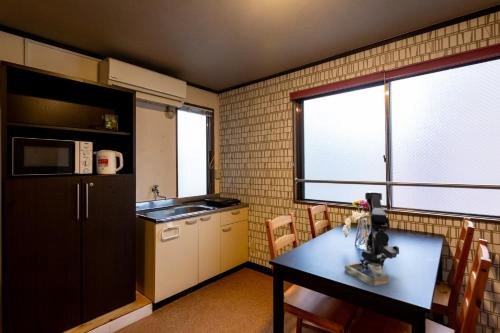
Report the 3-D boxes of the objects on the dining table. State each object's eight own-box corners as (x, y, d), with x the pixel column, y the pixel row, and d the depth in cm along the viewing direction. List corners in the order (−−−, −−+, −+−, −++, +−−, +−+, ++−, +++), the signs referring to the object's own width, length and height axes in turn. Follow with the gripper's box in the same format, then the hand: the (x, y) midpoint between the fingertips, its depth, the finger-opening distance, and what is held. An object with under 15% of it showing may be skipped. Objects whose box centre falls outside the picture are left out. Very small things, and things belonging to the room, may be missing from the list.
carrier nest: (344, 271, 125) (344, 265, 125) (359, 267, 129) (359, 262, 129) (373, 286, 109) (373, 279, 109) (388, 282, 113) (388, 275, 113)
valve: (388, 278, 115) (371, 267, 127) (385, 265, 115) (369, 255, 127) (375, 282, 114) (360, 270, 126) (373, 268, 114) (358, 258, 126)
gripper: (380, 245, 111) (381, 280, 110) (407, 240, 118) (408, 272, 118) (360, 239, 121) (361, 271, 121) (386, 235, 128) (387, 264, 128)
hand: (379, 270), depth 121 cm, fingers closed
